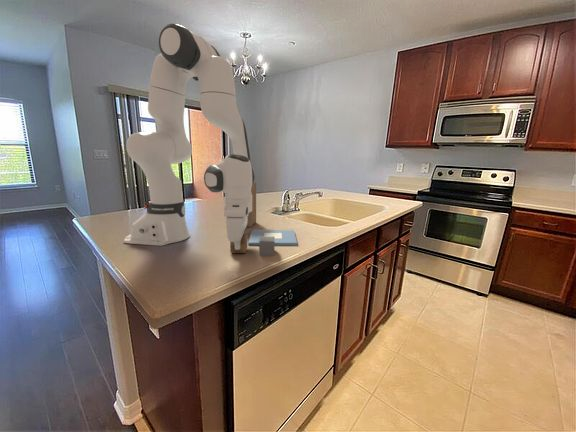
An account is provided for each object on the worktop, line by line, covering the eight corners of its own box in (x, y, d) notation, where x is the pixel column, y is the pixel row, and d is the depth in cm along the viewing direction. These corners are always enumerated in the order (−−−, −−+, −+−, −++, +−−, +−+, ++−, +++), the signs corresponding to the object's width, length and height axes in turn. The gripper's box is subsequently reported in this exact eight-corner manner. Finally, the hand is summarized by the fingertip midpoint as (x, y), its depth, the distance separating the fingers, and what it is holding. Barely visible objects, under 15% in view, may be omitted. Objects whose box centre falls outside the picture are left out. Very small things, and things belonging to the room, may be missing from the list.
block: (249, 228, 114) (249, 183, 109) (229, 226, 116) (227, 182, 111) (256, 222, 124) (256, 181, 119) (237, 220, 126) (236, 180, 121)
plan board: (248, 245, 93) (248, 242, 93) (252, 232, 109) (251, 229, 108) (297, 245, 94) (297, 242, 94) (293, 232, 110) (293, 229, 109)
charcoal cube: (259, 255, 84) (259, 241, 83) (260, 250, 89) (260, 236, 88) (274, 255, 84) (274, 241, 83) (274, 250, 89) (274, 236, 88)
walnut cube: (230, 252, 84) (230, 238, 83) (232, 247, 89) (232, 233, 88) (245, 252, 84) (245, 238, 83) (247, 247, 89) (247, 234, 88)
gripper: (234, 199, 93) (234, 235, 96) (222, 212, 73) (223, 257, 76) (251, 200, 93) (251, 235, 97) (244, 213, 73) (244, 257, 77)
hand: (239, 245), depth 86 cm, fingers closed on walnut cube, 5 cm apart
